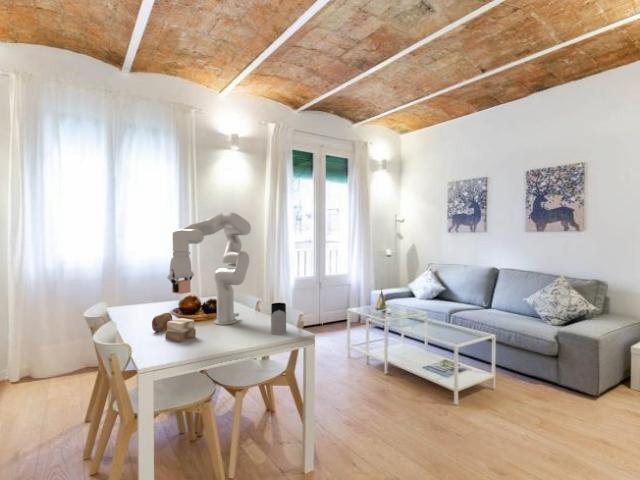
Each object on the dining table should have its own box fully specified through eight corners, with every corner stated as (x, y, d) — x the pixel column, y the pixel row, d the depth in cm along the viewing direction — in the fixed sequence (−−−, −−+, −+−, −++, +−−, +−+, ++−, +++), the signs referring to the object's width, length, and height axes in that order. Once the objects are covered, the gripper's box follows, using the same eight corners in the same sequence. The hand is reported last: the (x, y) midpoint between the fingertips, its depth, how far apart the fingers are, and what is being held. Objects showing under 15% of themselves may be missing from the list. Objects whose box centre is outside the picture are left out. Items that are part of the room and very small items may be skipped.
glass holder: (270, 335, 192) (270, 306, 192) (269, 328, 206) (269, 300, 206) (287, 334, 194) (287, 305, 193) (285, 327, 208) (285, 300, 207)
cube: (182, 291, 191) (182, 279, 191) (190, 292, 188) (190, 280, 188) (172, 292, 186) (172, 280, 186) (180, 294, 183) (180, 281, 183)
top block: (181, 326, 194) (181, 318, 194) (194, 328, 190) (194, 319, 190) (167, 330, 186) (167, 321, 186) (180, 333, 182) (180, 324, 182)
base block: (182, 335, 194) (181, 326, 194) (195, 337, 189) (195, 329, 189) (165, 340, 186) (165, 331, 186) (179, 343, 181) (179, 333, 181)
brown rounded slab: (156, 333, 196) (155, 317, 196) (150, 333, 197) (150, 317, 196) (173, 326, 211) (172, 311, 211) (168, 325, 211) (167, 311, 211)
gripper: (189, 253, 196) (189, 288, 196) (160, 255, 181) (161, 293, 181) (199, 254, 192) (200, 289, 193) (171, 256, 177) (172, 294, 178)
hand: (181, 290), depth 187 cm, fingers closed on cube, 6 cm apart
